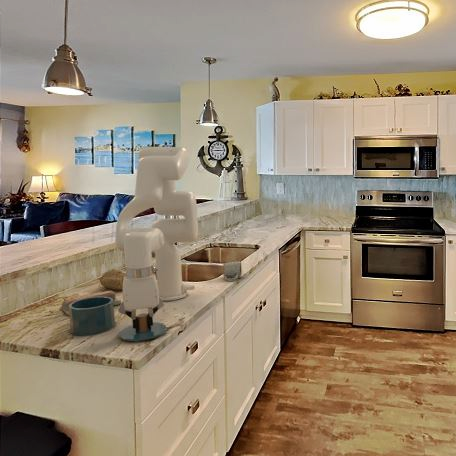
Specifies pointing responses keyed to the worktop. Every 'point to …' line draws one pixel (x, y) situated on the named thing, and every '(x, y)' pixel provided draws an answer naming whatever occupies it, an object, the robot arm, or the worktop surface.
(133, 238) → the robot arm
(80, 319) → the crock
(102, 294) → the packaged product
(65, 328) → the worktop surface
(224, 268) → the ceramic mug
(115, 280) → the brown rounded lump
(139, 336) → the crock lid
